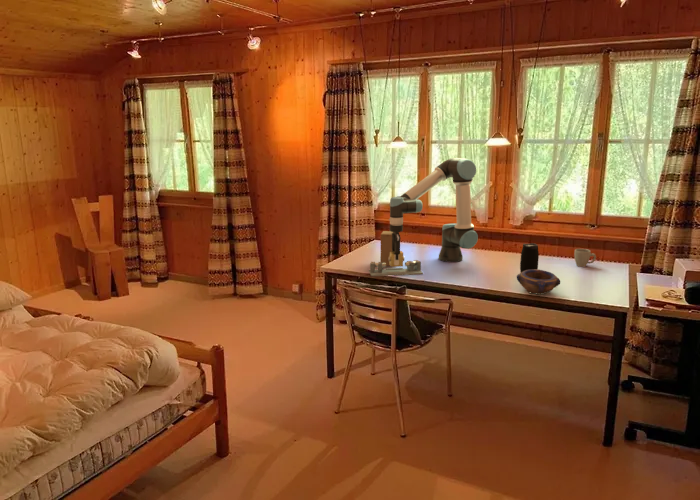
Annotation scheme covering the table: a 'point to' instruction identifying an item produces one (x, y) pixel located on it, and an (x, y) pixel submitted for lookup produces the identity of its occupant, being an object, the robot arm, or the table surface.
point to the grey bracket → (379, 265)
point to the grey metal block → (413, 265)
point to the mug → (583, 257)
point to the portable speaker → (529, 257)
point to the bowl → (538, 281)
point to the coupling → (391, 259)
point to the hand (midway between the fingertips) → (395, 263)
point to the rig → (395, 272)
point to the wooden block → (386, 246)
